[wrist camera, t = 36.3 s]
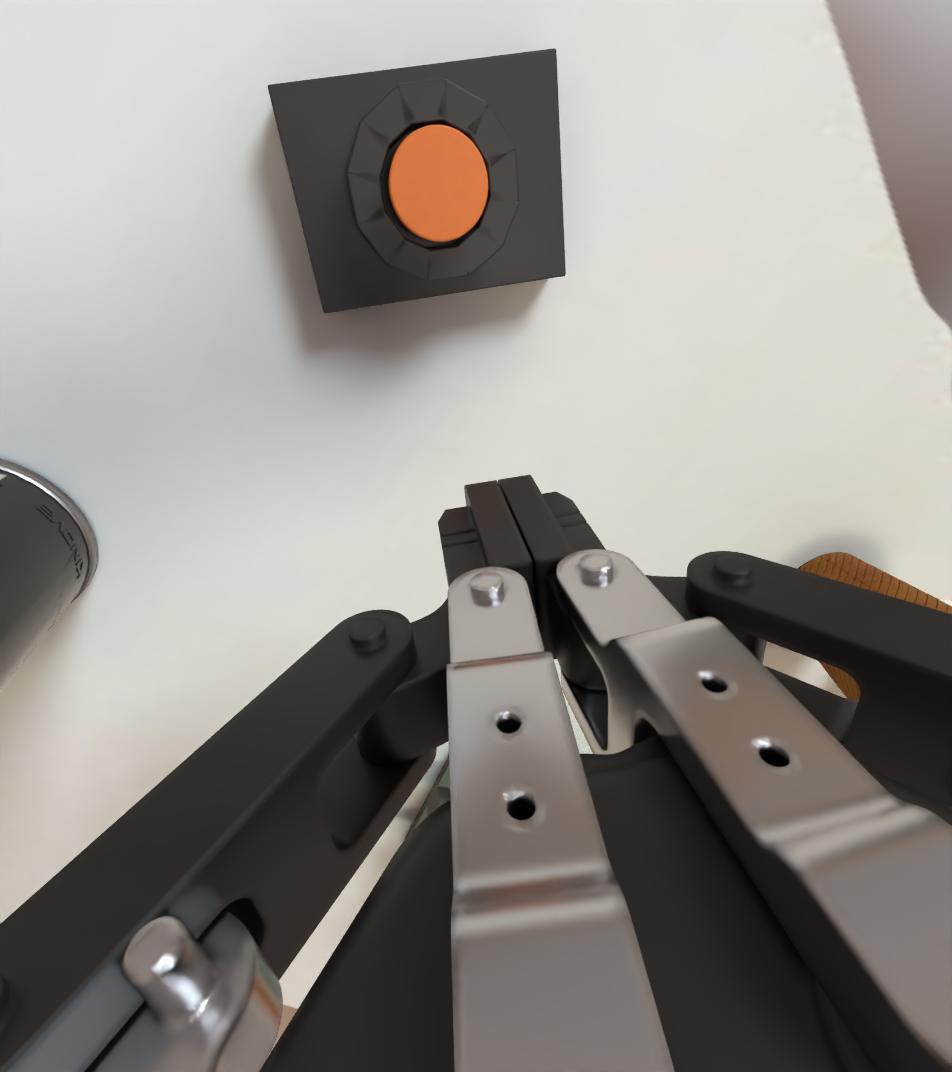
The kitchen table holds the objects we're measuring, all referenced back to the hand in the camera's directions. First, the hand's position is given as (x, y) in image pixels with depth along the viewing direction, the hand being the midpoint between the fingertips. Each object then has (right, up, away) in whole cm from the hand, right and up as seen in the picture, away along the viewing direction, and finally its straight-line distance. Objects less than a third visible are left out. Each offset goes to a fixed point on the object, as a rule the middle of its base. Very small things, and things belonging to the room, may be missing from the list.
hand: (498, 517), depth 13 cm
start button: (-2, +13, +9) cm, 16 cm away
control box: (-3, +15, +12) cm, 19 cm away
